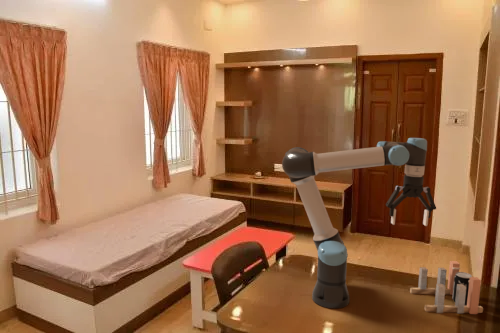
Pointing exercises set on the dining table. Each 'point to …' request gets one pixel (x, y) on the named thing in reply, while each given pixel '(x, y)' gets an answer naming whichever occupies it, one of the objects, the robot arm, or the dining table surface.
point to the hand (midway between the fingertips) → (408, 224)
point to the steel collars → (443, 290)
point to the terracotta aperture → (472, 291)
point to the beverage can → (461, 279)
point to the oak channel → (446, 307)
